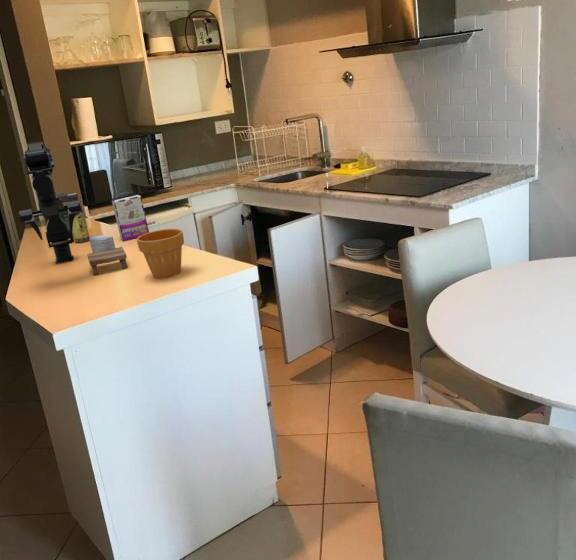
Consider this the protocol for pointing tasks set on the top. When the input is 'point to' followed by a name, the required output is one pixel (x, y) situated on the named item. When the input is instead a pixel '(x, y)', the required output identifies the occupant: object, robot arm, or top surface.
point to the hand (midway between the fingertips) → (56, 237)
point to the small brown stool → (107, 258)
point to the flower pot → (162, 251)
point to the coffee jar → (64, 199)
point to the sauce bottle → (79, 223)
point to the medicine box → (102, 243)
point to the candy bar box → (130, 217)
